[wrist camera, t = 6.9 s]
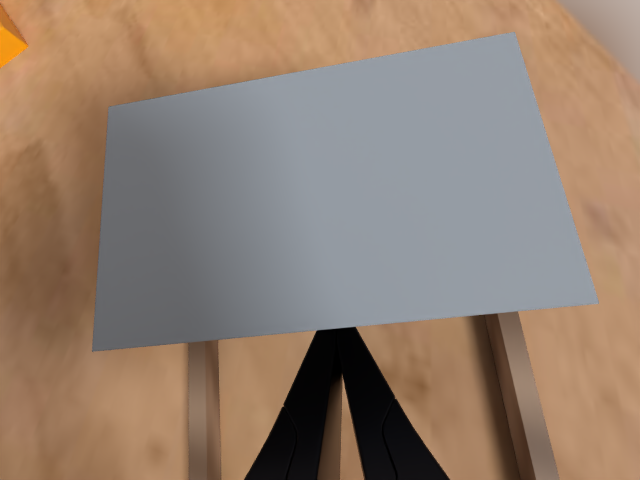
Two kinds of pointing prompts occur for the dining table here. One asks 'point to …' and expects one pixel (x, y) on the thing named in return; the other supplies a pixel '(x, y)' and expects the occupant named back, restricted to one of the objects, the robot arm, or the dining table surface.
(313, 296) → the slate block
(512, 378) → the channel
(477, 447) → the dining table surface
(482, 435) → the dining table surface
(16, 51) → the flat orange slab
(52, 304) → the dining table surface
